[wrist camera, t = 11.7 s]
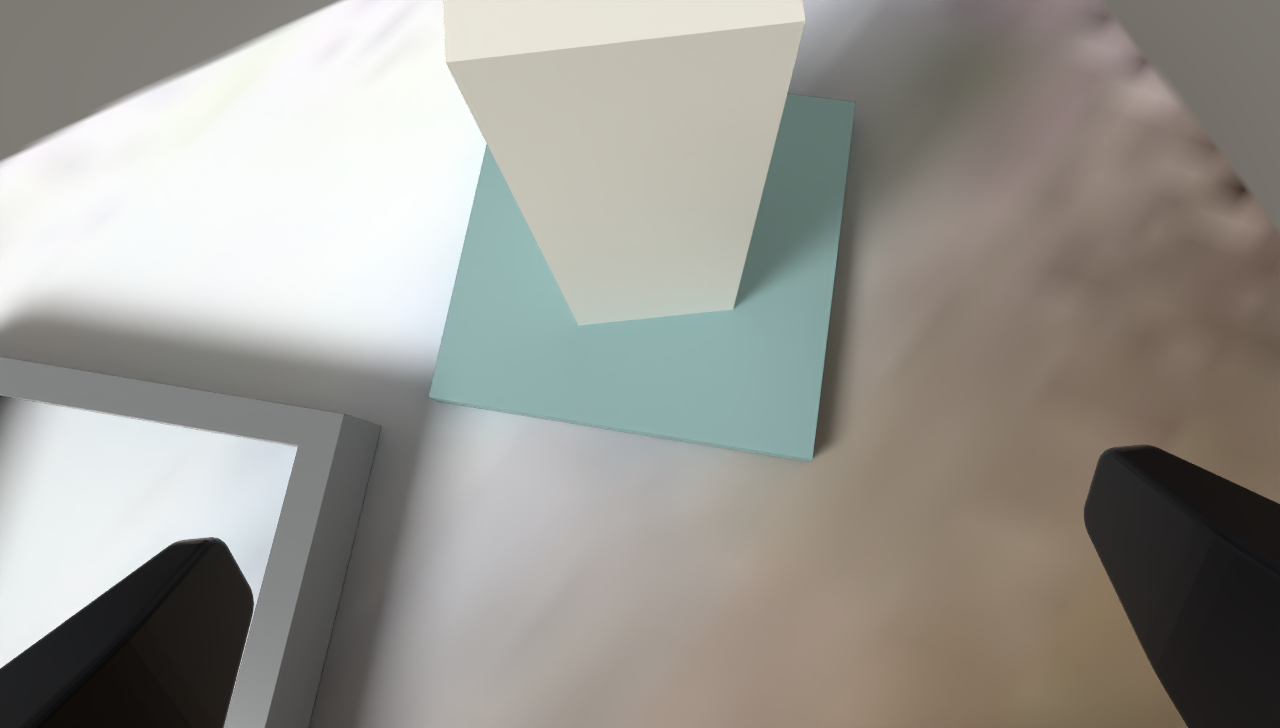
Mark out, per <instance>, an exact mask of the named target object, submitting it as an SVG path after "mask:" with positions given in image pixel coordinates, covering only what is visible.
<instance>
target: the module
mask: <svg viewBox="0 0 1280 728" xmlns="http://www.w3.org/2000/svg"><path fill="white" fill-rule="evenodd" d="M443 1H444V25H445V50H446V63H447V65H448V67H449V69H450V71H451V73H452V75H453V77H454V79H455V81H456V83H457V85H458V87H459V89H460V91H461V93H462V95H463V97H464V99H465V101H466V103H467V105H468V107H469V109H470V111H471V113H472V115H473V117H474V119H475V121H476V123H477V125H478V127H479V129H480V131H481V133H482V135H483V137H484V139H485V141H486V143H487V145H488V147H489V149H490V151H491V153H492V155H493V157H494V159H495V161H496V163H497V165H498V167H499V169H500V171H501V173H502V175H503V177H504V179H505V181H506V183H507V184H508V186H509V188H510V190H511V192H512V194H513V196H514V198H515V200H516V202H517V204H518V206H519V208H520V210H521V212H522V214H523V216H524V218H525V220H526V222H527V224H528V226H529V228H530V230H531V232H532V234H533V236H534V238H535V240H536V242H537V244H538V246H539V248H540V250H541V252H542V254H543V256H544V258H545V260H546V262H547V264H548V266H549V268H550V270H551V272H552V274H553V276H554V278H555V280H556V282H557V284H558V286H559V288H560V290H561V292H562V294H563V296H564V298H565V300H566V302H567V304H568V305H569V307H570V309H571V311H572V313H573V315H574V317H575V319H576V321H577V323H578V325H588V324H598V323H608V322H617V321H627V320H636V319H646V318H656V317H665V316H675V315H685V314H694V313H704V312H713V311H723V310H733V308H734V304H735V300H736V296H737V292H738V288H739V284H740V280H741V276H742V272H743V268H744V264H745V260H746V256H747V252H748V248H749V244H750V240H751V236H752V232H753V228H754V224H755V220H756V216H757V212H758V208H759V204H760V200H761V196H762V192H763V188H764V185H765V181H766V177H767V173H768V169H769V165H770V161H771V157H772V153H773V149H774V145H775V141H776V137H777V133H778V129H779V125H780V121H781V117H782V113H783V109H784V105H785V101H786V97H787V93H788V89H789V85H790V81H791V77H792V73H793V69H794V65H795V61H796V57H797V53H798V49H799V45H800V41H801V37H802V33H803V29H804V26H805V22H806V20H805V14H804V8H803V1H802V0H443Z"/></svg>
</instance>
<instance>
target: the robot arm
mask: <svg viewBox="0 0 1280 728" xmlns="http://www.w3.org/2000/svg"><path fill="white" fill-rule="evenodd" d="M1084 521H1085V526H1086V529H1087V532H1088V534H1089V536H1090V539H1091V541H1092V543H1093V545H1094V547H1095V549H1096V551H1097V553H1098V555H1099V558H1100V560H1101V562H1102V564H1103V566H1104V568H1105V570H1106V572H1107V574H1108V576H1109V579H1110V581H1111V583H1112V585H1113V587H1114V589H1115V591H1116V593H1117V595H1118V597H1119V600H1120V602H1121V604H1122V606H1123V608H1124V610H1125V612H1126V614H1127V616H1128V619H1129V621H1130V623H1131V625H1132V627H1133V629H1134V631H1135V633H1136V635H1137V637H1138V640H1139V642H1140V644H1141V646H1142V648H1143V650H1144V652H1145V654H1146V656H1147V658H1148V660H1149V661H1150V663H1151V665H1152V667H1153V669H1154V671H1155V673H1156V675H1157V676H1158V678H1159V680H1160V682H1161V683H1162V685H1163V687H1164V688H1165V690H1166V692H1167V694H1168V695H1169V697H1170V699H1171V700H1172V702H1173V704H1174V705H1175V707H1176V709H1177V710H1178V712H1179V713H1180V715H1181V717H1182V718H1183V720H1184V722H1185V723H1186V725H1187V727H1188V728H1280V504H1278V503H1276V502H1274V501H1272V500H1270V499H1268V498H1265V497H1263V496H1261V495H1259V494H1257V493H1255V492H1252V491H1250V490H1248V489H1246V488H1244V487H1242V486H1239V485H1237V484H1235V483H1233V482H1231V481H1229V480H1226V479H1224V478H1222V477H1220V476H1218V475H1216V474H1214V473H1211V472H1209V471H1207V470H1205V469H1203V468H1201V467H1198V466H1196V465H1194V464H1192V463H1190V462H1188V461H1185V460H1183V459H1181V458H1179V457H1177V456H1175V455H1172V454H1170V453H1168V452H1166V451H1164V450H1162V449H1159V448H1157V447H1155V446H1151V445H1134V446H1124V447H1114V448H1110V449H1107V450H1106V451H1105V452H1104V453H1103V454H1102V455H1101V456H1100V458H1099V460H1098V463H1097V467H1096V470H1095V473H1094V477H1093V480H1092V483H1091V486H1090V490H1089V493H1088V496H1087V500H1086V503H1085V507H1084ZM253 606H254V601H253V594H252V590H251V588H250V586H249V584H248V582H247V580H246V579H245V577H244V575H243V573H242V572H241V570H240V568H239V566H238V564H237V563H236V561H235V559H234V557H233V555H232V554H231V552H230V550H229V548H228V547H227V545H226V544H225V543H224V542H223V541H221V540H220V539H218V538H213V537H209V538H199V539H189V540H182V541H178V542H175V543H173V544H171V545H170V546H168V547H167V548H165V549H164V550H163V551H161V552H160V553H159V554H157V555H156V556H154V557H153V558H152V559H150V560H149V561H148V562H146V563H145V564H143V565H142V566H141V567H139V568H138V569H137V570H135V571H134V572H132V573H131V574H130V575H128V576H127V577H126V578H124V579H123V580H121V581H120V582H119V583H117V584H116V585H115V586H113V587H112V588H110V589H109V590H108V591H106V592H105V593H104V594H102V595H101V596H99V597H98V598H97V599H95V600H94V601H93V602H91V603H90V604H88V605H87V606H86V607H84V608H83V609H82V610H80V611H79V612H77V613H76V614H75V615H73V616H72V617H71V618H69V619H68V620H66V621H65V622H64V623H62V624H61V625H60V626H58V627H57V628H56V629H54V630H53V631H51V632H50V633H49V634H47V635H46V636H45V637H43V638H42V639H40V640H39V641H38V642H36V643H35V644H34V645H32V646H31V647H29V648H28V649H27V650H25V651H24V652H23V653H21V654H20V655H18V656H17V657H16V658H14V659H13V660H12V661H10V662H9V663H7V664H6V665H5V666H3V667H2V668H1V669H0V728H224V724H225V720H226V716H227V712H228V709H229V705H230V701H231V697H232V693H233V689H234V685H235V681H236V677H237V673H238V669H239V666H240V662H241V658H242V654H243V650H244V646H245V642H246V638H247V634H248V630H249V627H250V623H251V619H252V614H253Z"/></svg>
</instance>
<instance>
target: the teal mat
mask: <svg viewBox="0 0 1280 728" xmlns="http://www.w3.org/2000/svg"><path fill="white" fill-rule="evenodd" d="M855 103H856V102H851V101H843V100H835V99H826V98H818V97H810V96H802V95H793V94H787V97H786V101H785V105H784V109H783V113H782V117H781V121H780V125H779V129H778V133H777V137H776V141H775V145H774V149H773V153H772V157H771V161H770V165H769V169H768V173H767V177H766V181H765V185H764V188H763V192H762V196H761V200H760V204H759V208H758V212H757V216H756V220H755V224H754V228H753V232H752V236H751V240H750V244H749V248H748V252H747V256H746V260H745V264H744V268H743V272H742V276H741V280H740V284H739V288H738V292H737V296H736V300H735V304H734V308H733V310H723V311H713V312H704V313H694V314H685V315H675V316H665V317H656V318H646V319H636V320H627V321H617V322H608V323H598V324H588V325H578V323H577V321H576V319H575V317H574V315H573V313H572V311H571V309H570V307H569V305H568V304H567V302H566V300H565V298H564V296H563V294H562V292H561V290H560V288H559V286H558V284H557V282H556V280H555V278H554V276H553V274H552V272H551V270H550V268H549V266H548V264H547V262H546V260H545V258H544V256H543V254H542V252H541V250H540V248H539V246H538V244H537V242H536V240H535V238H534V236H533V234H532V232H531V230H530V228H529V226H528V224H527V222H526V220H525V218H524V216H523V214H522V212H521V210H520V208H519V206H518V204H517V202H516V200H515V198H514V196H513V194H512V192H511V190H510V188H509V186H508V184H507V183H506V181H505V179H504V177H503V175H502V173H501V171H500V169H499V167H498V165H497V163H496V161H495V159H494V157H493V155H492V153H491V151H490V149H489V147H488V145H486V149H485V154H484V158H483V163H482V167H481V171H480V176H479V180H478V184H477V189H476V193H475V197H474V202H473V206H472V210H471V215H470V219H469V223H468V228H467V232H466V236H465V241H464V245H463V249H462V254H461V258H460V262H459V267H458V271H457V275H456V280H455V284H454V288H453V293H452V297H451V301H450V306H449V310H448V314H447V319H446V323H445V327H444V332H443V336H442V340H441V345H440V349H439V353H438V358H437V362H436V366H435V371H434V375H433V379H432V384H431V388H430V392H429V397H430V398H432V399H433V400H435V401H438V402H444V403H450V404H456V405H462V406H468V407H474V408H480V409H487V410H493V411H499V412H505V413H511V414H517V415H523V416H530V417H536V418H542V419H548V420H554V421H560V422H566V423H572V424H579V425H585V426H591V427H597V428H603V429H609V430H615V431H622V432H628V433H634V434H640V435H646V436H652V437H658V438H664V439H671V440H677V441H683V442H689V443H695V444H701V445H707V446H714V447H720V448H726V449H732V450H738V451H744V452H750V453H756V454H763V455H769V456H775V457H781V458H787V459H793V460H799V461H806V462H808V461H810V460H812V459H813V451H814V442H815V434H816V426H817V418H818V409H819V401H820V393H821V384H822V376H823V368H824V360H825V351H826V343H827V335H828V326H829V318H830V310H831V302H832V293H833V285H834V277H835V268H836V260H837V252H838V244H839V235H840V227H841V219H842V210H843V202H844V194H845V186H846V177H847V169H848V161H849V152H850V144H851V136H852V128H853V119H854V111H855Z"/></svg>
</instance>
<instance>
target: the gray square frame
mask: <svg viewBox="0 0 1280 728" xmlns="http://www.w3.org/2000/svg"><path fill="white" fill-rule="evenodd" d="M0 396H5V397H10V398H16V399H22V400H28V401H34V402H40V403H45V404H51V405H57V406H63V407H69V408H75V409H80V410H86V411H92V412H98V413H104V414H110V415H115V416H121V417H127V418H133V419H139V420H145V421H150V422H156V423H162V424H168V425H174V426H180V427H185V428H191V429H197V430H203V431H209V432H215V433H220V434H226V435H232V436H238V437H244V438H250V439H255V440H261V441H267V442H273V443H279V444H285V445H290V446H296V447H298V449H297V453H296V457H295V460H294V464H293V468H292V472H291V476H290V479H289V483H288V487H287V491H286V495H285V498H284V502H283V506H282V510H281V514H280V517H279V521H278V525H277V529H276V532H275V536H274V540H273V544H272V548H271V551H270V555H269V559H268V563H267V567H266V570H265V574H264V578H263V582H262V586H261V589H260V593H259V597H258V601H257V605H256V608H255V612H254V616H253V620H252V624H251V627H250V631H249V635H248V639H247V643H246V646H245V650H244V654H243V658H242V662H241V665H240V669H239V673H238V677H237V680H236V684H235V688H234V692H233V696H232V699H231V703H230V707H229V711H228V715H227V718H226V722H225V726H224V728H309V724H310V719H311V715H312V711H313V707H314V703H315V699H316V695H317V690H318V686H319V682H320V678H321V674H322V670H323V666H324V662H325V657H326V653H327V649H328V645H329V641H330V637H331V633H332V628H333V624H334V620H335V616H336V612H337V608H338V604H339V599H340V595H341V591H342V587H343V583H344V579H345V575H346V571H347V566H348V562H349V558H350V554H351V550H352V546H353V542H354V537H355V533H356V529H357V525H358V521H359V517H360V513H361V509H362V504H363V500H364V496H365V492H366V488H367V484H368V480H369V475H370V471H371V467H372V463H373V459H374V455H375V451H376V446H377V442H378V438H379V434H380V430H381V426H379V425H376V424H373V423H370V422H367V421H364V420H361V419H358V418H355V417H351V416H348V415H345V414H341V413H335V412H329V411H323V410H317V409H311V408H305V407H299V406H293V405H287V404H281V403H275V402H269V401H263V400H257V399H251V398H245V397H239V396H233V395H227V394H221V393H215V392H209V391H203V390H197V389H191V388H185V387H179V386H172V385H166V384H160V383H154V382H148V381H142V380H136V379H130V378H124V377H118V376H112V375H106V374H100V373H94V372H88V371H82V370H76V369H70V368H64V367H58V366H52V365H46V364H40V363H34V362H28V361H22V360H16V359H10V358H4V357H0Z"/></svg>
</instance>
